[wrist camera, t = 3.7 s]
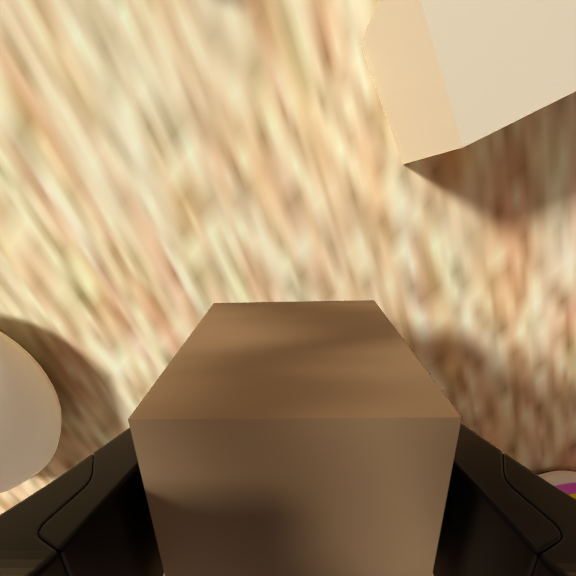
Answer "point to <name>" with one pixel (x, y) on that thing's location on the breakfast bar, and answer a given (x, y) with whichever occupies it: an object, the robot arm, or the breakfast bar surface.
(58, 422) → the flower in vase
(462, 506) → the robot arm
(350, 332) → the walnut cube
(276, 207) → the breakfast bar surface
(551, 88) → the cream cube
